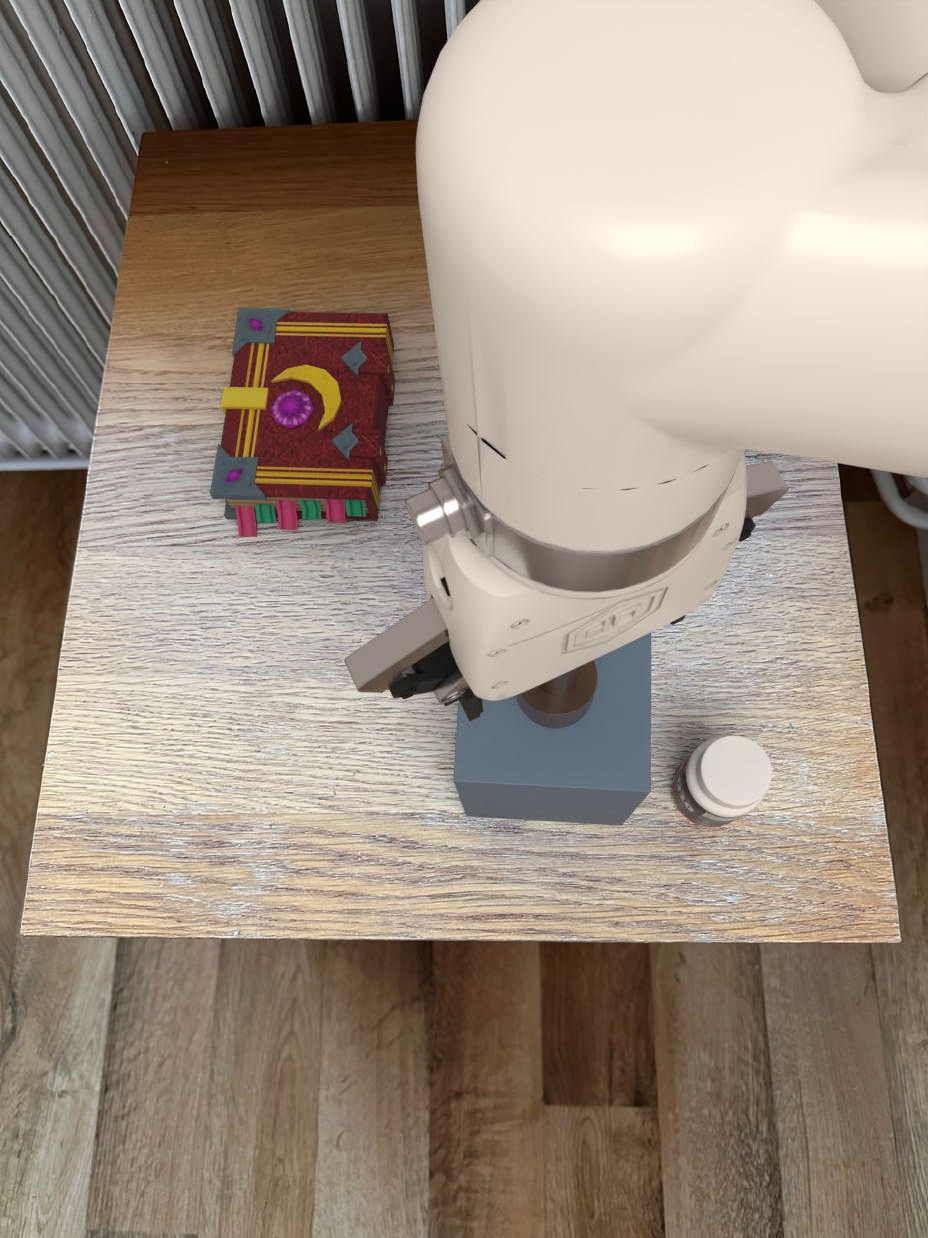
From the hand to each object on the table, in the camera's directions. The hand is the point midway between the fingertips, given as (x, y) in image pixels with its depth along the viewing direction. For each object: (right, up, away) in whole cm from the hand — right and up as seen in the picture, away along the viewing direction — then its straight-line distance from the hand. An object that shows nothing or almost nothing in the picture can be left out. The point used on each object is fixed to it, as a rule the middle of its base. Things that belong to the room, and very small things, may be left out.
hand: (560, 640), depth 43 cm
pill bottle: (+12, -10, +20) cm, 25 cm away
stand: (+1, -7, +22) cm, 23 cm away
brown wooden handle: (+1, -3, +8) cm, 9 cm away
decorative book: (-15, +14, +30) cm, 37 cm away
